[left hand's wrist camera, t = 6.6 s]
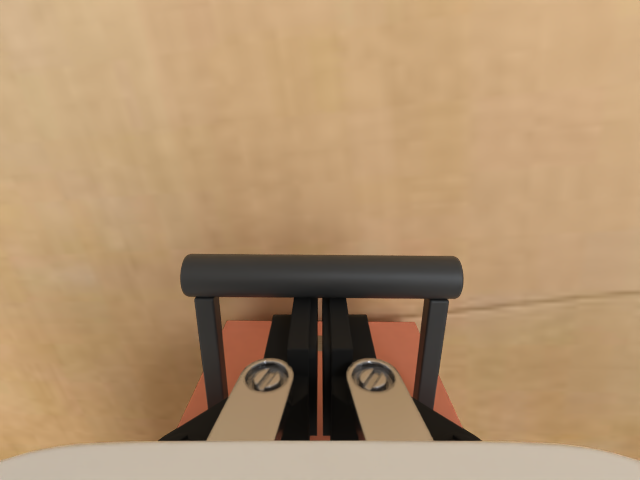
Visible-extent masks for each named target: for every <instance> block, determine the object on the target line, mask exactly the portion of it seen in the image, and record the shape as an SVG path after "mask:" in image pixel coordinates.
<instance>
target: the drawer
mask: <svg viewBox="0 0 640 480" xmlns="http://www.w3.org/2000/svg"><path fill="white" fill-rule="evenodd" d="M180 280H181V288H182V291H183V293H184V294H185V295H186V296H189V297H195V299H194V301H195V309H196V317H197V325H198V333H199V341H200V349H201V357H202V365H203V373H202V375H201V378H200V380H199V382H198V384H197V386H196V388H195V390H194V393H193V395H192V397H191V399H190V401H189V403H188V405H187V408H186V410H185V412H184V414H183V416H182V418H181V421H180V423H179V425H178V427H180V426H182V425H183V424H185V423H186V422H188V421H190V420H191V419H193V418H195V417H196V416H198V415H199V414H201V413H203V412H204V411H206V410H208V409H209V408H211V407H213V406H214V405H216V404H217V403H219V402H221V401H222V400H224V399H226V398H227V397H229V395H230V393H231V391H232V390H233V388H234V386H235V384H236V382H237V380H238V378H239V376H240V374H241V372H242V371H243V370H244V368H245V367H246V366H248V365H249V364H250V363H252V362H255V361H257V360H260V359H263V358H264V354H265V349H266V345H267V341H268V336H269V332H270V327H271V323H272V321H227V322H226V324H225V326H224V328H223V330H222V325H221V315H220V305H219V297H293V298H409V299H424V306H423V315H422V323H421V332H420V333H419V331H418V328H417V326H416V324H415V322H368V323H369V328H370V332H371V336H372V341H373V345H374V350H375V354H376V358H377V359H380V360H383V361H385V362H388V363H389V364H391V365H392V366H394V367H395V368H396V370H397V371H398V372H399V374H400V376H401V378H402V380H403V382H404V384H405V386H406V388H407V390H408V391H409V393H410V395H411V397H413V398H414V399H416V400H418V401H419V402H421V403H423V404H424V405H426V406H427V407H429V408H431V409H432V410H434V411H436V412H437V413H439V414H440V415H442V416H444V417H445V418H447V419H449V420H450V421H452V422H454V423H455V424H457V425H458V426H460V427H462V425H461V423H460V421H459V419H458V417H457V414H456V412H455V410H454V408H453V406H452V403H451V401H450V399H449V397H448V395H447V392H446V390H445V388H444V386H443V384H442V381H441V379H440V377H439V375H438V374H439V367H440V360H441V353H442V346H443V339H444V332H445V325H446V318H447V311H448V304H449V301H448V299H456V298H458V297H459V296H460V294H461V292H462V288H463V270H462V266H461V263H460V261H459V259H458V258H456V257H454V256H375V255H255V254H189V255H187V256H186V257H185V259H184V261H183V263H182V267H181V275H180ZM178 427H177V428H178ZM310 441H330V436H323V392H322V321H318V388H317V436H310Z"/></svg>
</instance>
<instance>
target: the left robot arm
mask: <svg viewBox="0 0 640 480" xmlns="http://www.w3.org/2000/svg"><path fill="white" fill-rule="evenodd" d="M317 388H318V298H294V302H293V309H292V315H273V319H272V323H271V327H270V332H269V336H268V341H267V345H266V349H265V354H264V358H263V359H260V360H257V361H255V362H252V363H250V364H249V365H248V366H246V367H245V368H244V370H243V371H242V372H241V374H240V376H239V378H238V380H237V382H236V384H235V386H234V388H233V390H232V391H231V393H230V395H229V397H227V398H226V399H224V400H222V401H221V402H219V403H217V404H216V405H214V406H213V407H211V408H209V409H208V410H206V411H204V412H203V413H201V414H199V415H198V416H196V417H195V418H193V419H191V420H190V421H188V422H186V423H185V424H183V425H182V426H180V427H178V428H177V429H175V430H173V431H172V432H170V433H169V434H167V435H165V436H164V437H162V438H161V439H160V440H158V441H126V442H100V443H80V444H71V445H62V446H55V447H50V448H45V449H40V450H35V451H30V452H27V453H23V454H20V455H17V456H13V457H10V458H7V459H3V460H0V480H640V460H637V459H633V458H630V457H627V456H623V455H620V454H617V453H613V452H610V451H605V450H600V449H595V448H590V447H585V446H578V445H569V444H560V443H540V442H514V441H482V440H480V439H479V438H478V437H476V436H475V435H473V434H471V433H470V432H468V431H467V430H465V429H463V428H462V427H460V426H458V425H457V424H455V423H454V422H452V421H450V420H449V419H447V418H445V417H444V416H442V415H440V414H439V413H437V412H436V411H434V410H432V409H431V408H429V407H427V406H426V405H424V404H423V403H421V402H419V401H418V400H416V399H414V398H413V397H411V395H410V393H409V391H408V390H407V388H406V386H405V384H404V382H403V380H402V378H401V376H400V374H399V372H398V371H397V370H396V368H395V367H394V366H392V365H391V364H389V363H388V362H385V361H383V360H380V359H377V358H376V354H375V350H374V345H373V341H372V336H371V332H370V328H369V323H368V319H367V315H348V309H347V302H346V298H322V392H323V436H330V441H310V436H317Z"/></svg>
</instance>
